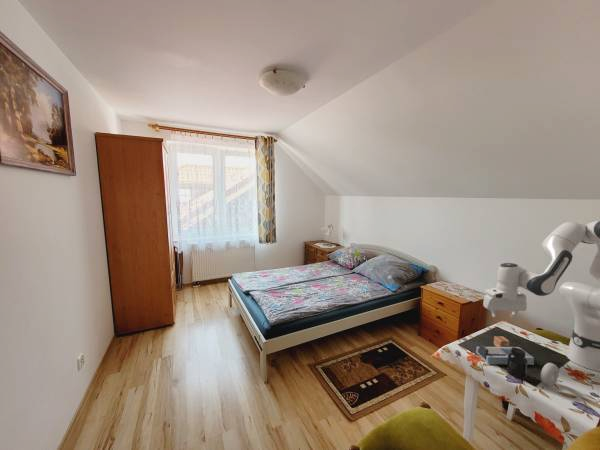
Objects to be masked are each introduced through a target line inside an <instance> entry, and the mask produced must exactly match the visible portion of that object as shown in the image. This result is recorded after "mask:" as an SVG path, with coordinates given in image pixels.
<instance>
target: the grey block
mask: <svg viewBox="0 0 600 450" xmlns="http://www.w3.org/2000/svg"><path fill="white" fill-rule="evenodd" d="M478 347H479V354H480V355H482V356H483V357H484V358H485V359H486V356H506V353H505V352H504V351H502V350H501V349H500V348H485V347H486V346H484V345H483V344H479V346H478Z"/></svg>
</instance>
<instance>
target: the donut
mask: <svg viewBox="0 0 600 450" xmlns="http://www.w3.org/2000/svg"><path fill="white" fill-rule="evenodd" d="M559 375H560V370H559V367H558V366H557V365H556V364H554V363H552V362H547V363H546V364H544V366H543V367H542V369H541V371H540V381H541V383H542V384H543V385H545V386H548V387H551V386H552V387H553V386H554V385H555V384H556V383H557V381H558V378H559Z"/></svg>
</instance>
